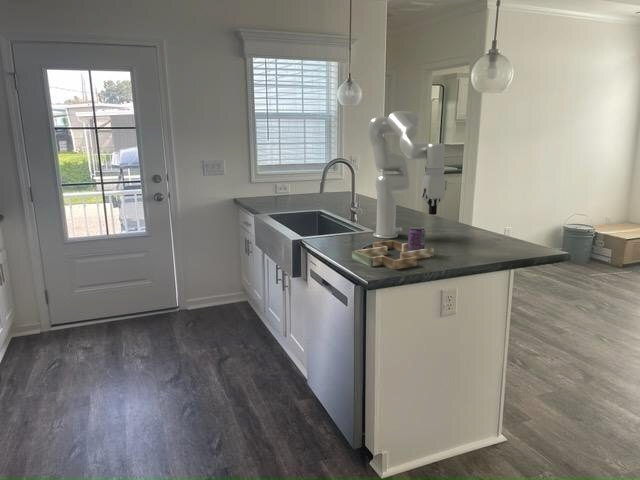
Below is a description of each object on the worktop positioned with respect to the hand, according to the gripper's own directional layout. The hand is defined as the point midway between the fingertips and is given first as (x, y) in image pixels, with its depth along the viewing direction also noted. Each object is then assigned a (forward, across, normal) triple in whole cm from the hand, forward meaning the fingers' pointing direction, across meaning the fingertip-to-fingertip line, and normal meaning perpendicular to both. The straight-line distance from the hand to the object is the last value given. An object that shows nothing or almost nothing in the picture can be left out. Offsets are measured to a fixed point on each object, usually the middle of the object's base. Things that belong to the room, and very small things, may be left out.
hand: (432, 214), depth 210 cm
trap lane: (+17, +20, 0) cm, 27 cm away
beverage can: (+17, +8, 0) cm, 19 cm away
